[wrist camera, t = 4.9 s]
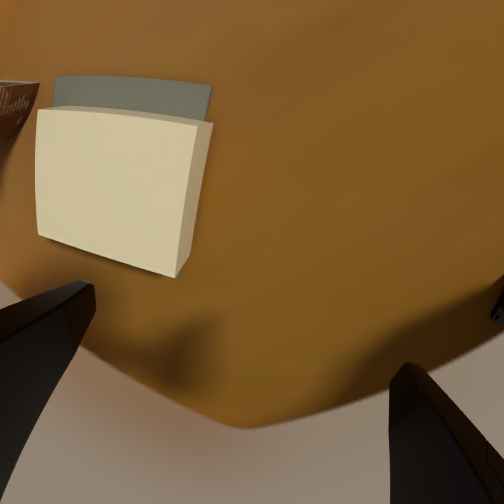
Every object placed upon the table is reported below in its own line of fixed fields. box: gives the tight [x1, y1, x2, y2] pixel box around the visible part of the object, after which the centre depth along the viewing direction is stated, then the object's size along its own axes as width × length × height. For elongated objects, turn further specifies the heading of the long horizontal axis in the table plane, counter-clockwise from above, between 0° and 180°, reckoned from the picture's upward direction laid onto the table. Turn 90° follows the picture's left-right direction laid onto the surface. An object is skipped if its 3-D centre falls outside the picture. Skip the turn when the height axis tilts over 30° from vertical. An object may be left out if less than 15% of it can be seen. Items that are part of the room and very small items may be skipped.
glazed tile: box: [35, 105, 214, 278], centre depth 16 cm, size 3×8×10 cm
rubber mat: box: [52, 76, 213, 277], centre depth 17 cm, size 11×12×1 cm
